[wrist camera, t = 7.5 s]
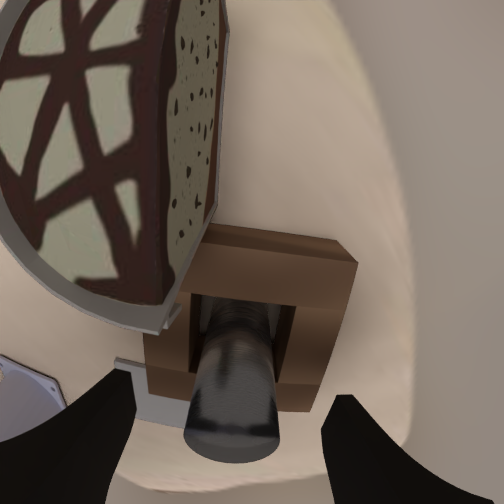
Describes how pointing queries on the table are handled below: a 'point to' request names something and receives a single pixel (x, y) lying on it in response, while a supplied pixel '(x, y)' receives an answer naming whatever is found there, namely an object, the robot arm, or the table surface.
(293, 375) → the hole block
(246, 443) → the peg
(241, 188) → the table surface
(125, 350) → the table surface
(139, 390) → the mat
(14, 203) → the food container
